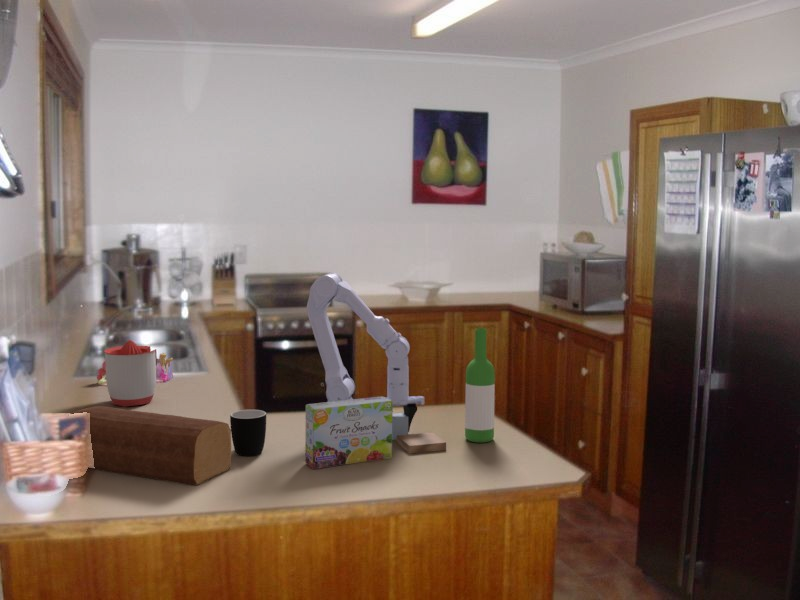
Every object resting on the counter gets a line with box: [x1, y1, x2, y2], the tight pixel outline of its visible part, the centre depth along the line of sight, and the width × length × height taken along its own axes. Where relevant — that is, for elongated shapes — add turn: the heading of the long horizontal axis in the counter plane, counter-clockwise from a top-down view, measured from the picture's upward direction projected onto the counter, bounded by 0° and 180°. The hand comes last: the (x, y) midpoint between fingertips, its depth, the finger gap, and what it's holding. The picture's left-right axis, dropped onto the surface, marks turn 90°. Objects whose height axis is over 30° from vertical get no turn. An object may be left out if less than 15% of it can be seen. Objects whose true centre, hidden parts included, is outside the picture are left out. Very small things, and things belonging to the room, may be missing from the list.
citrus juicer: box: [103, 339, 162, 408], centre depth 270 cm, size 16×17×20 cm
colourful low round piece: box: [96, 352, 174, 387], centre depth 304 cm, size 25×24×9 cm
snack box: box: [305, 395, 394, 470], centre depth 211 cm, size 21×6×15 cm, turn 117°
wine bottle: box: [464, 327, 496, 444], centre depth 229 cm, size 8×8×30 cm
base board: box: [396, 431, 447, 455], centre depth 224 cm, size 10×10×2 cm
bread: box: [69, 405, 232, 486], centre depth 206 cm, size 16×39×13 cm, turn 66°
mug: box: [229, 409, 267, 457], centre depth 219 cm, size 12×9×10 cm
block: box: [392, 412, 409, 441], centre depth 232 cm, size 4×4×6 cm
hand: (397, 432), depth 233 cm, fingers closed on block, 4 cm apart
